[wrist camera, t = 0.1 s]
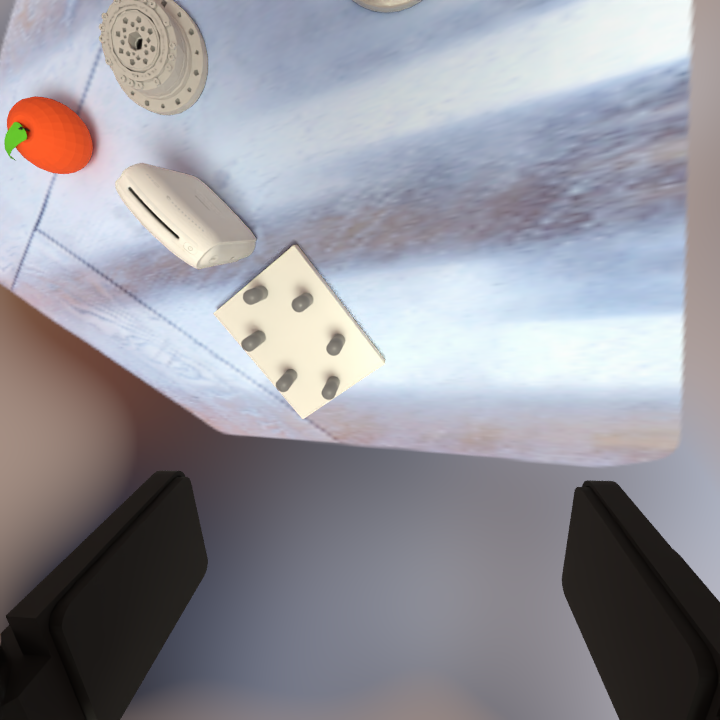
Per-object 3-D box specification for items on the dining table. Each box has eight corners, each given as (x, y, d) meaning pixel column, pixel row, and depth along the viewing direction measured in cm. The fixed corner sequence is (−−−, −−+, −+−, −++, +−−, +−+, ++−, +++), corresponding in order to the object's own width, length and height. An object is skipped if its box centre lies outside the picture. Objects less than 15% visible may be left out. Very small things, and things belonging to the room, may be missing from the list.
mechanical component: (126, -16, 38) (111, 94, 41) (92, -46, 34) (78, 79, 37) (219, 24, 38) (197, 131, 42) (197, -1, 34) (174, 120, 38)
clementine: (72, 195, 45) (14, 189, 38) (31, 138, 44) (-37, 121, 37) (120, 155, 43) (68, 141, 36) (79, 94, 42) (16, 67, 35)
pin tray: (218, 311, 48) (198, 319, 43) (297, 244, 44) (284, 246, 39) (305, 413, 51) (295, 432, 46) (385, 359, 47) (383, 374, 42)
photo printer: (264, 240, 44) (214, 244, 33) (241, 267, 46) (185, 279, 34) (197, 170, 43) (119, 147, 31) (175, 199, 44) (92, 188, 32)
